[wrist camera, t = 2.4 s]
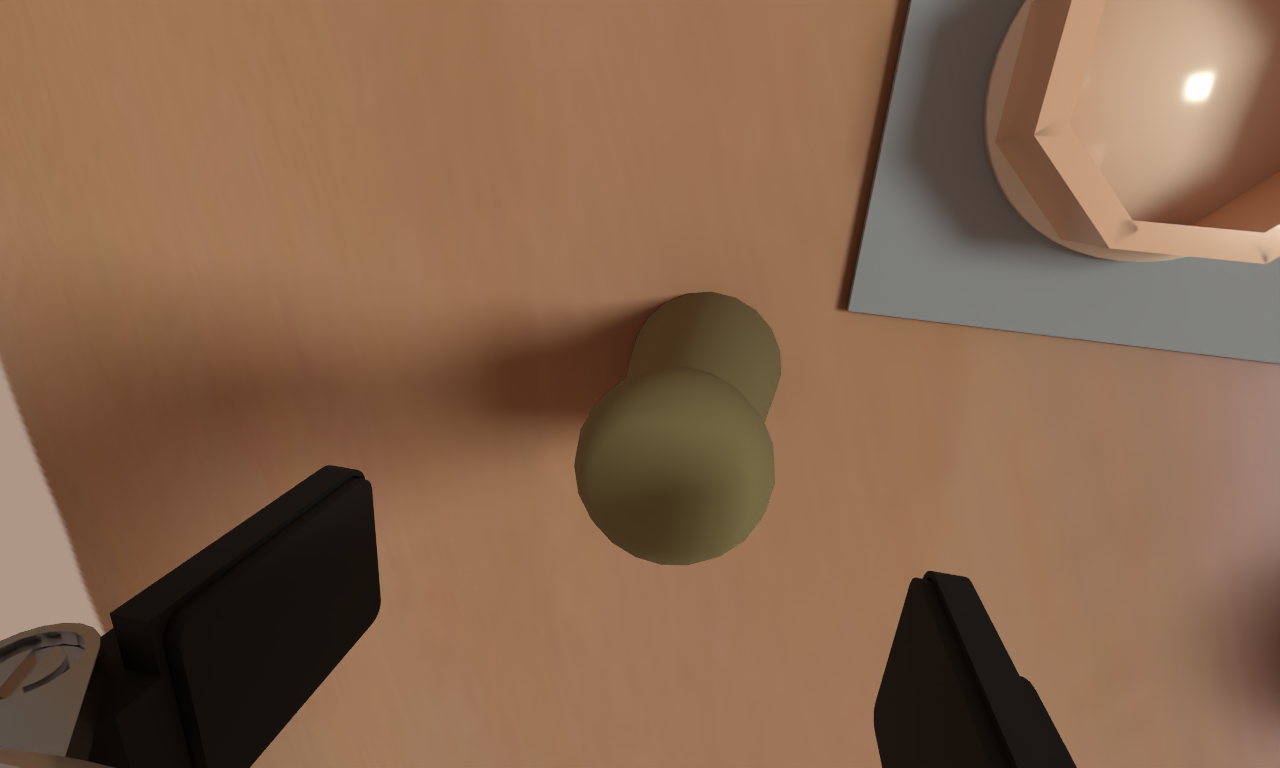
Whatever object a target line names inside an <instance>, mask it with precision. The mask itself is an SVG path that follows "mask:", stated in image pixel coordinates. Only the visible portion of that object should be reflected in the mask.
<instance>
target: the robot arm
mask: <svg viewBox="0 0 1280 768" xmlns="http://www.w3.org/2000/svg"><path fill="white" fill-rule="evenodd" d="M380 604H381V596H380V584H379V571H378V558H377V546H376V533H375V520H374V508H373V495H372V486H371V483H370V482H369V481H368V480H365V477H364V475H363V473H362V472H361V471H359V470H355V469H349V468H343V467H338V466H332V465H327V466H325V467H323V468H321V469H320V470H318V471H317V472H315V473H314V474H312V475H311V476H310V477H308V478H307V479H305V480H304V481H302V482H301V483H299V484H298V485H296V486H295V487H294V488H292V489H291V490H289V491H288V492H286V493H285V494H283V495H282V496H280V497H279V498H277V499H276V500H275V501H273V502H272V503H270V504H269V505H267V506H266V507H264V508H263V509H261V510H260V511H258V512H257V513H256V514H254V515H253V516H251V517H250V518H248V519H247V520H245V521H244V522H242V523H241V524H240V525H238V526H237V527H235V528H234V529H232V530H231V531H229V532H228V533H226V534H225V535H223V536H222V537H221V538H219V539H218V540H216V541H215V542H213V543H212V544H210V545H209V546H207V547H206V548H205V549H203V550H202V551H200V552H199V553H197V554H196V555H194V556H193V557H191V558H190V559H188V560H187V561H186V562H184V563H183V564H181V565H180V566H178V567H177V568H175V569H174V570H172V571H171V572H170V573H168V574H167V575H165V576H164V577H162V578H161V579H159V580H158V581H156V582H155V583H153V584H152V585H151V586H149V587H148V588H146V589H145V590H143V591H142V592H140V593H139V594H137V595H136V596H134V597H133V598H132V599H130V600H129V601H127V602H126V603H124V604H123V605H121V606H120V607H118V608H117V609H116V610H114V611H113V612H111V613H110V616H111V620H112V624H113V627H114V628H113V629H111V630H110V631H109V632H107V633H106V634H104V635H103V636H102V637H101V636H100V634H99V633H98V632H97V631H96V630H95V629H94V628H93V627H90V626H87V625H84V624H80V623H79V624H78V623H61V624H55V625H48V626H42V627H38V628H35V629H31V630H28V631H25V632H21V633H18V634H16V635H14V636H11V637H9V638H7V639H4V640H2V641H0V768H250V767H251V766H252V764H253V763H254V762H255V761H256V760H257V759H258V757H259V756H260V755H261V754H262V753H263V751H264V750H265V749H266V748H267V747H268V746H269V744H270V743H271V742H272V741H273V740H274V739H275V737H276V736H277V735H278V734H279V733H280V731H281V730H282V729H283V728H284V727H285V726H286V724H287V723H288V722H289V721H290V720H291V719H292V717H293V716H294V715H295V714H296V713H297V711H298V710H299V709H300V708H301V707H302V706H303V704H304V703H305V702H306V701H307V700H308V699H309V697H310V696H311V695H312V694H313V693H314V691H315V690H316V689H317V688H318V687H319V686H320V684H321V683H322V682H323V681H324V680H325V679H326V677H327V676H328V675H329V674H330V673H331V671H332V670H333V669H334V668H335V667H336V666H337V664H338V663H339V662H340V661H341V660H342V659H343V657H344V656H345V655H346V654H347V653H348V651H349V650H350V649H351V648H352V647H353V646H354V644H355V643H356V642H357V641H358V640H359V639H360V637H361V636H362V635H363V634H364V633H365V631H366V630H367V629H368V628H369V627H370V626H371V624H372V623H373V622H374V620H375V619H376V617H377V615H378V612H379V609H380ZM874 729H875V734H876V739H877V744H878V749H879V754H880V758H881V763H882V768H1077V767H1076V765H1075V763H1074V761H1073V760H1072V758H1071V756H1070V754H1069V752H1068V750H1067V748H1066V746H1065V744H1064V743H1063V741H1062V739H1061V737H1060V735H1059V733H1058V731H1057V729H1056V727H1055V726H1054V724H1053V722H1052V720H1051V718H1050V716H1049V714H1048V712H1047V710H1046V709H1045V707H1044V705H1043V703H1042V701H1041V699H1040V697H1039V695H1038V693H1037V692H1036V690H1035V689H1034V687H1033V686H1032V684H1031V683H1030V681H1028V680H1027V679H1025V678H1024V677H1021V676H1019V674H1018V672H1017V670H1016V668H1015V666H1014V664H1013V662H1012V660H1011V658H1010V656H1009V655H1008V653H1007V651H1006V649H1005V647H1004V645H1003V643H1002V641H1001V639H1000V637H999V635H998V633H997V631H996V629H995V627H994V625H993V623H992V621H991V619H990V617H989V616H988V614H987V612H986V610H985V608H984V606H983V604H982V602H981V600H980V598H979V596H978V594H977V592H976V590H975V588H974V586H973V584H972V582H971V581H970V580H969V578H966V577H963V576H957V575H951V574H945V573H940V572H934V571H928V572H926V574H925V575H924V577H923V579H920V578H913V579H912V581H911V583H910V585H909V589H908V592H907V596H906V599H905V603H904V606H903V610H902V613H901V616H900V620H899V623H898V627H897V630H896V634H895V637H894V641H893V644H892V647H891V651H890V654H889V658H888V661H887V665H886V668H885V672H884V675H883V678H882V682H881V685H880V689H879V692H878V696H877V699H876V703H875V708H874Z"/></svg>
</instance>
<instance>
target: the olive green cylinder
mask: <svg viewBox="0 0 1280 768" xmlns="http://www.w3.org/2000/svg"><path fill="white" fill-rule="evenodd" d="M780 375H781V365H780V350H779V347H778V345H777V342H776V339H775V337H774V334H773V332H772V329H771V328H770V327H769V325H768V324H767V323H766V322H765V321H764V319H763V318H762V317H761V316H760V315H759V314H758V312H757V311H756V310H754V309H753V308H751V307H749V306H748V305H746V304H745V303H743V302H741V301H740V300H738V299H737V298H734V297H730V296H726V295H722V294H718V293H714V292H703V293H689V294H685V295H683V296H680V297H678V298H675V299H673V300H670V301H668V302H665V303H664V304H663V305H662V306H661V307H660V308H658V309H657V310H656V311H655V312H654V313H653V314H651V315H650V316H649V317H648V318H647V320H646V321H645V323H644V325H643V326H642V328H641V330H640V331H639V333H638V335H637V336H636V340H635V344H634V348H633V351H632V355H631V359H630V363H629V367H628V371H627V375H626V378H625V379H624V380H622V381H621V382H620V383H619V384H617V385H616V386H615V387H614V388H612V389H611V390H610V391H609V392H608V393H606V394H605V395H604V396H603V397H602V398H601V399H600V400H599V401H598V402H597V404H596V405H595V406H594V408H593V410H592V411H591V413H590V415H589V417H588V418H587V420H586V422H585V423H584V425H583V427H582V428H581V431H580V436H579V441H578V447H577V452H576V457H575V466H574V467H575V474H576V480H577V487H578V494H579V496H580V498H581V500H582V502H583V504H584V506H585V508H586V510H587V512H588V514H589V516H590V518H591V519H592V521H593V522H594V523H595V524H596V526H597V527H598V528H599V529H600V530H601V531H602V532H603V533H604V534H605V535H606V536H607V537H608V538H609V540H610V541H611V542H612V543H614V544H615V545H617V546H619V547H620V548H622V549H623V550H625V551H627V552H628V553H630V554H632V555H633V556H635V557H638V558H641V559H644V560H648V561H651V562H654V563H658V564H661V565H690V564H694V563H698V562H701V561H705V560H709V559H712V558H716V557H719V556H721V555H723V554H724V553H726V552H728V551H729V550H731V549H732V548H734V547H735V546H737V545H739V544H740V543H742V542H743V541H744V540H745V539H746V538H747V536H748V535H749V534H750V533H751V531H752V530H753V529H754V528H755V526H756V525H757V524H758V523H759V521H760V520H761V518H762V517H763V515H764V513H765V511H766V508H767V505H768V502H769V499H770V496H771V493H772V490H773V487H774V484H775V478H774V453H773V443H772V441H771V439H770V436H769V434H768V431H767V429H766V426H765V424H764V422H765V419H766V417H767V414H768V411H769V408H770V406H771V403H772V400H773V397H774V395H775V391H776V388H777V385H778V382H779V378H780Z"/></svg>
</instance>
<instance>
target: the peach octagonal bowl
mask: <svg viewBox="0 0 1280 768" xmlns="http://www.w3.org/2000/svg"><path fill="white" fill-rule="evenodd" d="M983 130H984V142H985V148H986V153H987V157H988V161H989V165H990V168H991V171H992V173H993V176H994V178H995V181H996V183H997V185H998V187H999V189H1000V190H1001V192H1002V194H1003V196H1004V197H1005V199H1006V201H1007V202H1008V203H1009V205H1010V206H1011V207H1012V208H1013V209H1014V211H1015V212H1016V213H1017V214H1018V216H1019V217H1020V218H1021V219H1023V220H1024V221H1025V222H1026V223H1027V224H1028V225H1029V226H1030V227H1031V228H1033V229H1034V230H1035V231H1037V232H1038V233H1040V234H1041V235H1043V236H1044V237H1046V238H1047V239H1049V240H1050V241H1052V242H1055V243H1057V244H1059V245H1061V246H1063V247H1065V248H1067V249H1070V250H1073V251H1076V252H1080V253H1083V254H1086V255H1090V256H1094V257H1099V258H1105V259H1111V260H1117V261H1128V262H1154V261H1167V260H1173V259H1179V258H1184V257H1200V258H1210V259H1220V260H1230V261H1240V262H1250V263H1260V264H1267V263H1269V262H1271V261H1272V260H1274V259H1276V258H1278V257H1279V256H1280V0H1024V1H1023V3H1022V4H1021V5H1020V7H1019V9H1018V10H1017V12H1016V14H1015V16H1014V17H1013V19H1012V21H1011V22H1010V24H1009V26H1008V28H1007V29H1006V32H1005V34H1004V36H1003V38H1002V41H1001V43H1000V45H999V47H998V50H997V52H996V55H995V58H994V61H993V64H992V67H991V70H990V74H989V77H988V82H987V88H986V93H985V98H984V113H983Z"/></svg>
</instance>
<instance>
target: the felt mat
mask: <svg viewBox="0 0 1280 768" xmlns="http://www.w3.org/2000/svg"><path fill="white" fill-rule="evenodd" d="M1023 1H1024V0H909V5H908V10H907V15H906V20H905V25H904V30H903V35H902V40H901V45H900V50H899V55H898V59H897V64H896V69H895V74H894V79H893V84H892V89H891V94H890V99H889V104H888V109H887V114H886V119H885V123H884V128H883V133H882V138H881V143H880V148H879V153H878V158H877V163H876V168H875V173H874V178H873V182H872V187H871V192H870V197H869V202H868V207H867V212H866V217H865V222H864V227H863V232H862V237H861V242H860V246H859V251H858V256H857V261H856V266H855V271H854V276H853V281H852V286H851V291H850V296H849V301H848V306H847V310H848V311H852V312H860V313H869V314H877V315H885V316H893V317H901V318H910V319H918V320H926V321H934V322H942V323H951V324H959V325H967V326H975V327H984V328H992V329H1000V330H1008V331H1016V332H1025V333H1033V334H1041V335H1049V336H1058V337H1066V338H1074V339H1082V340H1090V341H1099V342H1107V343H1115V344H1123V345H1131V346H1140V347H1148V348H1156V349H1164V350H1173V351H1181V352H1189V353H1197V354H1205V355H1214V356H1222V357H1230V358H1238V359H1246V360H1255V361H1263V362H1271V363H1279V364H1280V256H1279V257H1278V258H1276V259H1274V260H1272V261H1271V262H1269V263H1267V264H1260V263H1250V262H1240V261H1230V260H1220V259H1210V258H1200V257H1184V258H1179V259H1173V260H1167V261H1154V262H1128V261H1117V260H1111V259H1105V258H1099V257H1094V256H1090V255H1086V254H1083V253H1080V252H1076V251H1073V250H1070V249H1067V248H1065V247H1063V246H1061V245H1059V244H1057V243H1055V242H1052V241H1050V240H1049V239H1047V238H1046V237H1044V236H1043V235H1041V234H1040V233H1038V232H1037V231H1035V230H1034V229H1033V228H1031V227H1030V226H1029V225H1028V224H1027V223H1026V222H1025V221H1024V220H1023V219H1021V218H1020V217H1019V216H1018V214H1017V213H1016V212H1015V211H1014V209H1013V208H1012V207H1011V206H1010V205H1009V203H1008V202H1007V201H1006V199H1005V197H1004V196H1003V194H1002V192H1001V190H1000V189H999V187H998V185H997V183H996V181H995V178H994V176H993V173H992V171H991V168H990V165H989V161H988V157H987V153H986V148H985V142H984V130H983V113H984V98H985V93H986V88H987V82H988V77H989V74H990V70H991V67H992V64H993V61H994V58H995V55H996V52H997V50H998V47H999V45H1000V43H1001V41H1002V38H1003V36H1004V34H1005V32H1006V29H1007V28H1008V26H1009V24H1010V22H1011V21H1012V19H1013V17H1014V16H1015V14H1016V12H1017V10H1018V9H1019V7H1020V5H1021V4H1022V3H1023Z"/></svg>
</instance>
